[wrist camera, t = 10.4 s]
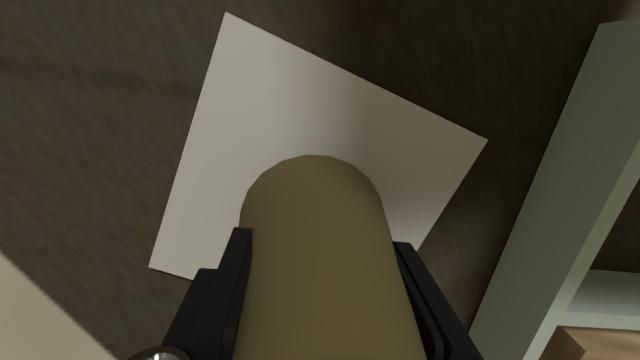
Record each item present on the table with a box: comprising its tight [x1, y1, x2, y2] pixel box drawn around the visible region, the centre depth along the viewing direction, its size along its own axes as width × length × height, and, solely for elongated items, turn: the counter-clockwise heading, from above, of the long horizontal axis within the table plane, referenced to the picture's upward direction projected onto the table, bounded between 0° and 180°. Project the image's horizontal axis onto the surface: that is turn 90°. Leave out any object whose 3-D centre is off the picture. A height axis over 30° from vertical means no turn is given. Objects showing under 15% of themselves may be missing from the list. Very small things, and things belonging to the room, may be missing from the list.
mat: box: [148, 12, 488, 280], centre depth 14 cm, size 12×12×1 cm
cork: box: [232, 155, 427, 360], centre depth 7 cm, size 6×6×11 cm
